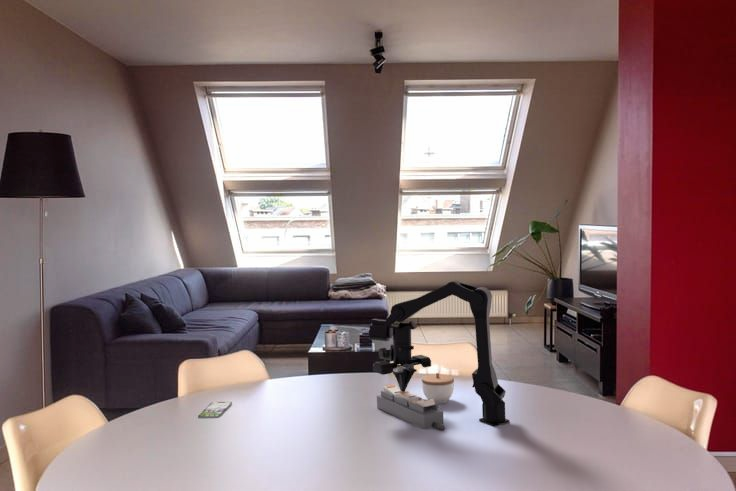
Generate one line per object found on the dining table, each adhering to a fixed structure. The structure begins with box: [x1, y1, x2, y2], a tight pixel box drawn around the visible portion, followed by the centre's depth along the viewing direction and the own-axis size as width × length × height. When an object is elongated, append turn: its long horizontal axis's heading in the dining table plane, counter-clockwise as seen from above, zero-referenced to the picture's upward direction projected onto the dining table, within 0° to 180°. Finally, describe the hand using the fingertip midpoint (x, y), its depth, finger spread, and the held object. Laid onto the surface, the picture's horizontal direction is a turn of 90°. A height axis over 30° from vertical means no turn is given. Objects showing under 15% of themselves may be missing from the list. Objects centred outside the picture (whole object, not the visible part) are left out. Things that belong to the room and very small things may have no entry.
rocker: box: [383, 384, 402, 399], centre depth 193 cm, size 6×4×2 cm, turn 31°
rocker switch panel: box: [376, 390, 445, 431], centre depth 185 cm, size 30×7×6 cm, turn 31°
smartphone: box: [197, 401, 233, 419], centre depth 199 cm, size 7×1×15 cm
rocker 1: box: [412, 398, 435, 407], centre depth 180 cm, size 6×4×2 cm, turn 31°
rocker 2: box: [398, 390, 420, 403], centre depth 186 cm, size 6×4×2 cm, turn 31°
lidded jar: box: [421, 372, 455, 405], centre depth 201 cm, size 11×11×9 cm
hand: (402, 391), depth 189 cm, fingers closed, pressing on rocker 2
